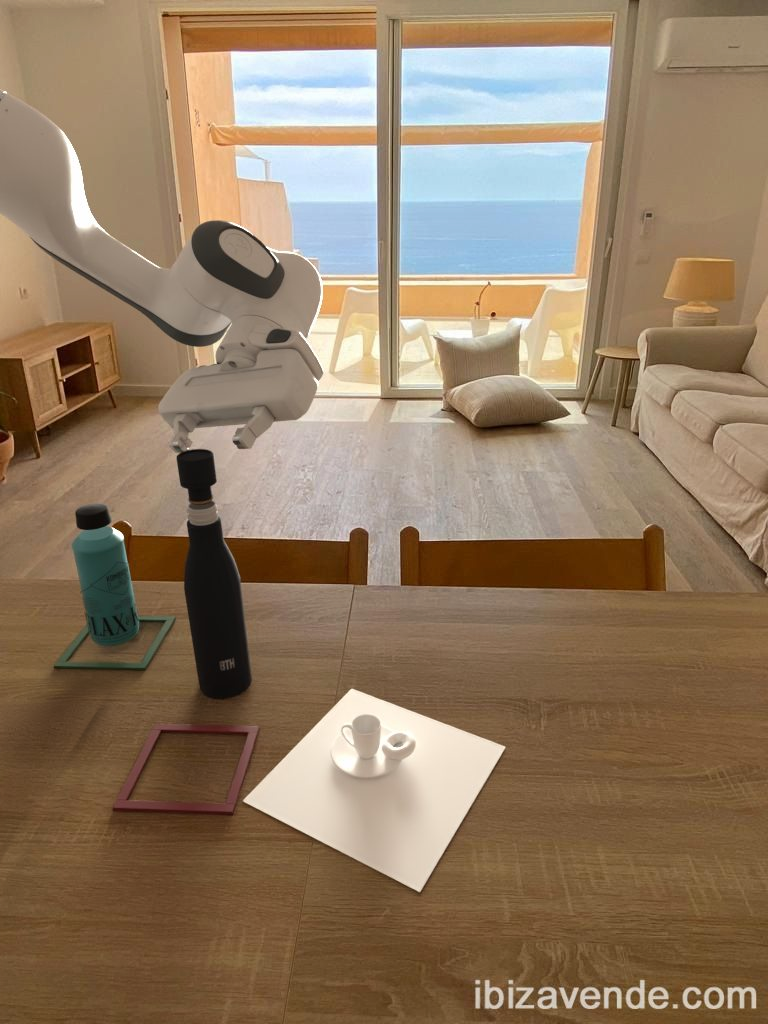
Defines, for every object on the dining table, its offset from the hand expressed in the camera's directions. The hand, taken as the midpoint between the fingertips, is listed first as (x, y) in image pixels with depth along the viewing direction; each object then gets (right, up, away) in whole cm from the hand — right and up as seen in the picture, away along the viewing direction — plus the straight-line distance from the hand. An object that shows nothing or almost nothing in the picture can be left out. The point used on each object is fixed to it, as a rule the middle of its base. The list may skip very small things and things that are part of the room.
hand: (207, 447), depth 77 cm
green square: (-17, -25, +17) cm, 35 cm away
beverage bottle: (-17, -25, +17) cm, 35 cm away
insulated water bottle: (0, -29, +9) cm, 30 cm away
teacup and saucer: (+19, -35, -5) cm, 40 cm away
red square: (-1, -34, -4) cm, 34 cm away
